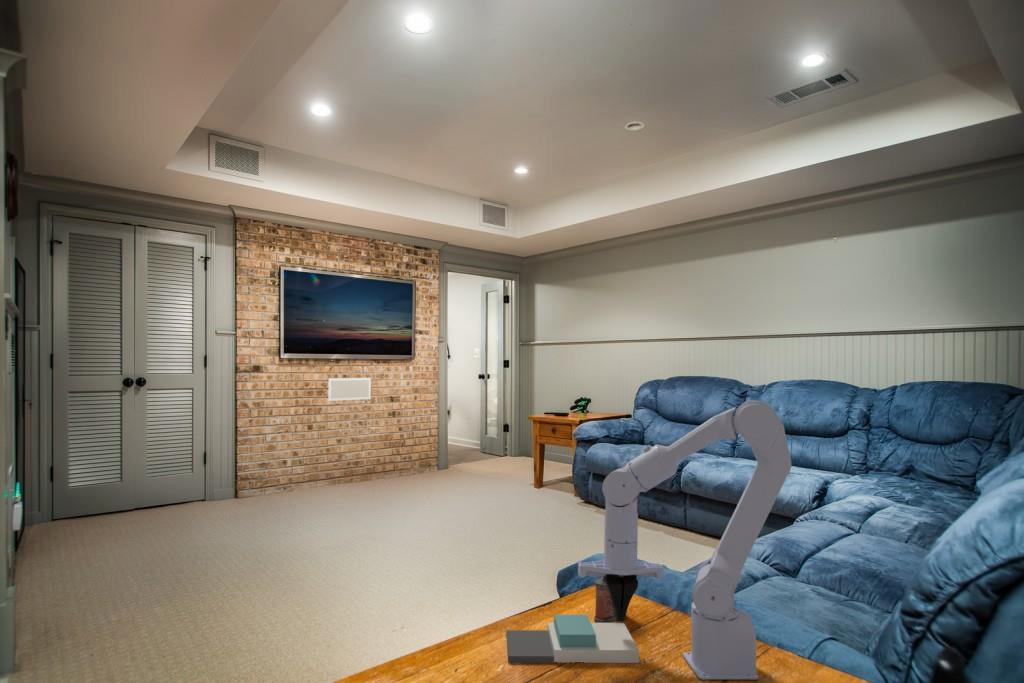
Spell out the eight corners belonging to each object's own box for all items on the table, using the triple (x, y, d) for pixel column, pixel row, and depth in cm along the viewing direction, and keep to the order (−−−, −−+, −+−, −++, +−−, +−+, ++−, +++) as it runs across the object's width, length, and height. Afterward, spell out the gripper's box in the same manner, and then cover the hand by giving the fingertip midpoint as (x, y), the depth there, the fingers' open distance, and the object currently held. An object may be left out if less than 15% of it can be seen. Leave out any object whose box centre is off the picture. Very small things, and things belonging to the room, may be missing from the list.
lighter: (615, 610, 114) (616, 559, 114) (629, 615, 111) (630, 563, 112) (590, 620, 108) (590, 567, 109) (604, 626, 106) (604, 572, 107)
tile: (587, 626, 101) (587, 614, 101) (595, 647, 93) (595, 634, 93) (553, 626, 101) (554, 614, 101) (559, 647, 93) (559, 634, 93)
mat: (547, 636, 101) (547, 630, 101) (554, 662, 92) (554, 656, 92) (506, 635, 101) (506, 630, 101) (508, 662, 91) (508, 656, 92)
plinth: (623, 634, 103) (623, 622, 103) (638, 662, 92) (639, 650, 92) (547, 633, 102) (547, 622, 102) (554, 662, 92) (554, 649, 92)
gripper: (655, 533, 103) (654, 610, 102) (576, 532, 102) (574, 609, 101) (667, 544, 96) (666, 627, 95) (582, 543, 95) (581, 626, 94)
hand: (619, 619), depth 98 cm, fingers closed
